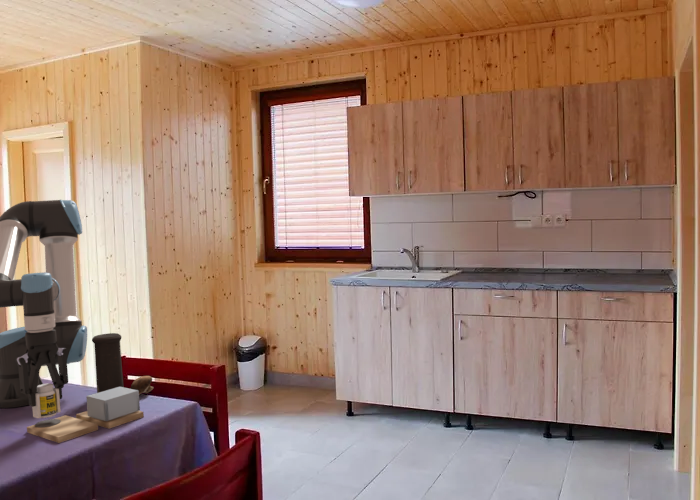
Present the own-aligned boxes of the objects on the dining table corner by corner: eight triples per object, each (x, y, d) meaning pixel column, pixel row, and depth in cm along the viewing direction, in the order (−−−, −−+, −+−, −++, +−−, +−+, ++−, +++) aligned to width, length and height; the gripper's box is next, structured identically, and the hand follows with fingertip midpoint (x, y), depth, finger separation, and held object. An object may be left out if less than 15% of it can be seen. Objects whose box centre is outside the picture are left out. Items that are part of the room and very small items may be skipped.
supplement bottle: (49, 418, 169) (46, 387, 168) (33, 418, 170) (30, 387, 169) (60, 412, 173) (58, 382, 173) (45, 412, 174) (43, 382, 174)
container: (115, 390, 209) (111, 330, 207) (130, 394, 203) (126, 332, 202) (91, 396, 202) (86, 335, 201) (105, 401, 196) (101, 337, 195)
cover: (87, 416, 176) (86, 396, 175) (121, 405, 184) (119, 386, 184) (106, 421, 170) (105, 400, 170) (139, 410, 179) (138, 390, 179)
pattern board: (76, 419, 179) (75, 403, 179) (110, 408, 188) (109, 393, 188) (109, 428, 170) (107, 412, 169) (143, 416, 178) (142, 401, 178)
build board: (25, 432, 170) (25, 425, 170) (64, 420, 179) (64, 414, 179) (58, 443, 160) (58, 436, 160) (98, 429, 169) (97, 423, 169)
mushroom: (162, 380, 206) (149, 367, 204) (154, 396, 199) (140, 382, 197) (145, 390, 208) (132, 377, 206) (136, 406, 201) (122, 393, 199)
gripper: (13, 337, 161) (20, 426, 162) (78, 325, 175) (85, 407, 176) (-1, 334, 165) (6, 421, 166) (64, 323, 180) (70, 403, 181)
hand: (47, 414), depth 171 cm, fingers closed on supplement bottle, 5 cm apart
